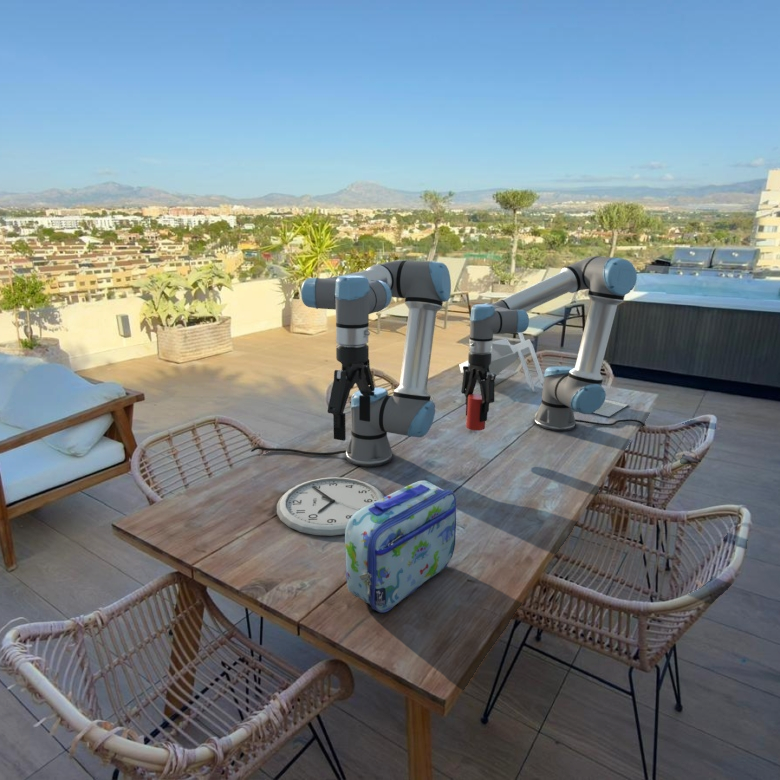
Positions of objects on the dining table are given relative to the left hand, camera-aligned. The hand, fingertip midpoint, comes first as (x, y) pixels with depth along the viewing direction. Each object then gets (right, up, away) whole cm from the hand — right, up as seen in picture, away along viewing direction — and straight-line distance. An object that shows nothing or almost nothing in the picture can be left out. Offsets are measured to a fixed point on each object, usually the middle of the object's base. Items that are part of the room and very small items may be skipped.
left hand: (352, 429), depth 127 cm
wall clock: (-7, -22, +15) cm, 28 cm away
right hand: (+39, 0, +52) cm, 64 cm away
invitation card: (+101, +2, +99) cm, 141 cm away
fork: (+25, +3, +96) cm, 99 cm away
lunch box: (+12, -32, -15) cm, 37 cm away
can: (+39, -3, +53) cm, 65 cm away
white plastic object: (+62, +12, +127) cm, 142 cm away
